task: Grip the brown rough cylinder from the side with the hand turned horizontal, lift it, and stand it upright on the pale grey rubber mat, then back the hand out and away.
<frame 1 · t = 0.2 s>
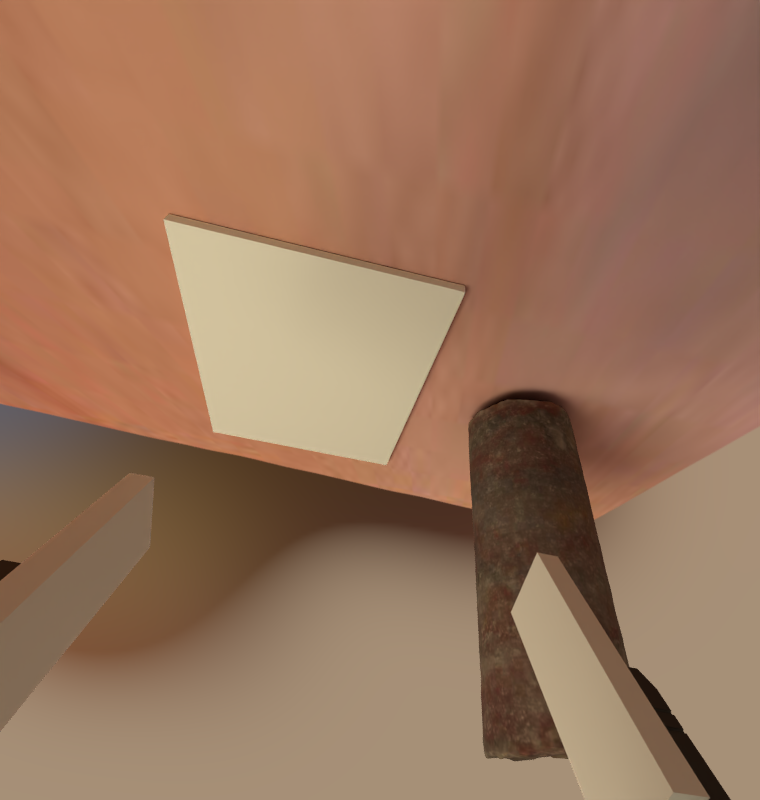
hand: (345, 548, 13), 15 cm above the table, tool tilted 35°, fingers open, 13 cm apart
brown rough cylinder: (515, 414, 30), on the table
mat: (310, 373, 29), on the table
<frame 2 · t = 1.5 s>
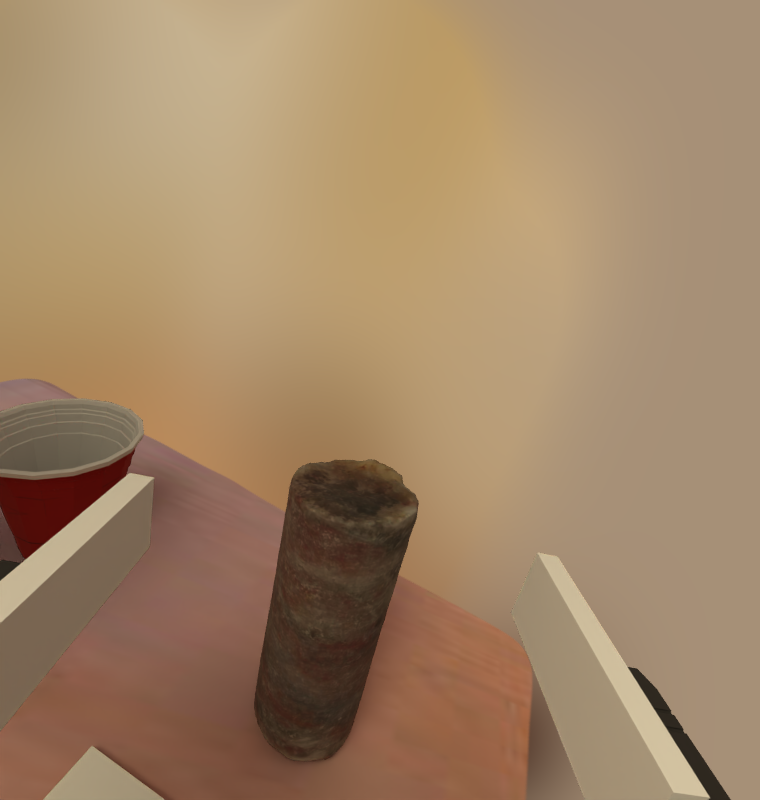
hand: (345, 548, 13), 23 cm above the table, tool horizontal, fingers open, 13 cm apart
brown rough cylinder: (302, 708, 29), on the table
plastic cup: (62, 544, 35), on the table
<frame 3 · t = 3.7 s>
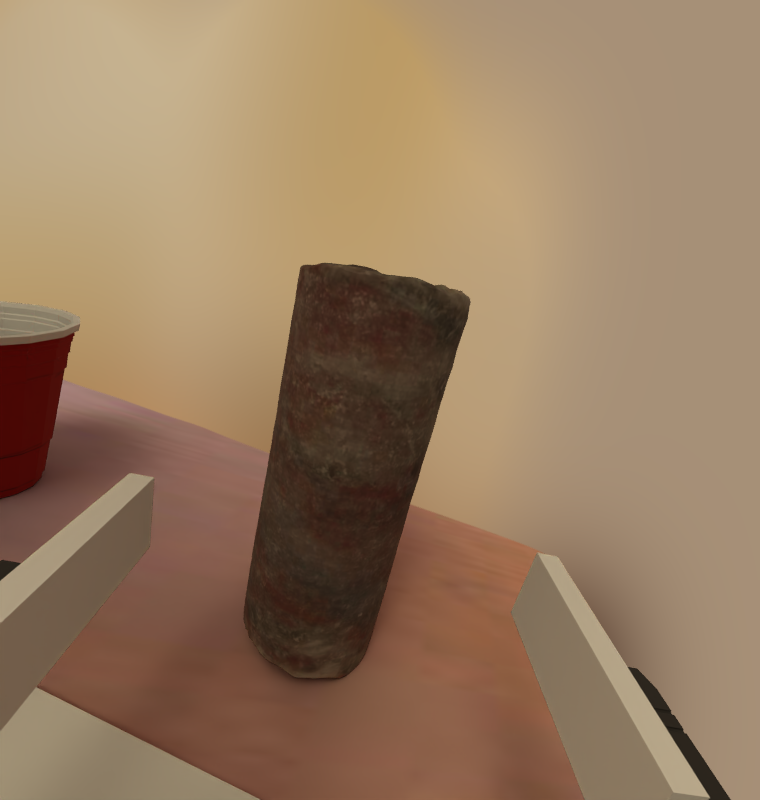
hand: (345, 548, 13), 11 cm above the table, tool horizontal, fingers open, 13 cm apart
brown rough cylinder: (304, 627, 23), on the table
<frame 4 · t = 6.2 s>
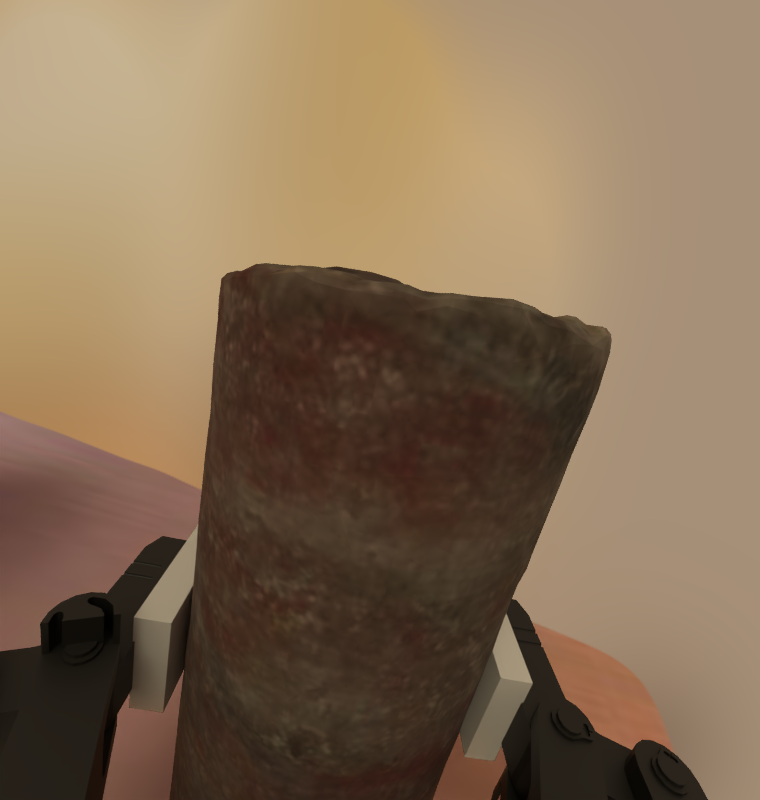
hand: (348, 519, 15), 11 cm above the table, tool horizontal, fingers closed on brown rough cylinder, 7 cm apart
when the fingers open (12 cm above the table, at t = 11.0 s): brown rough cylinder stays where it is, resting on mat.
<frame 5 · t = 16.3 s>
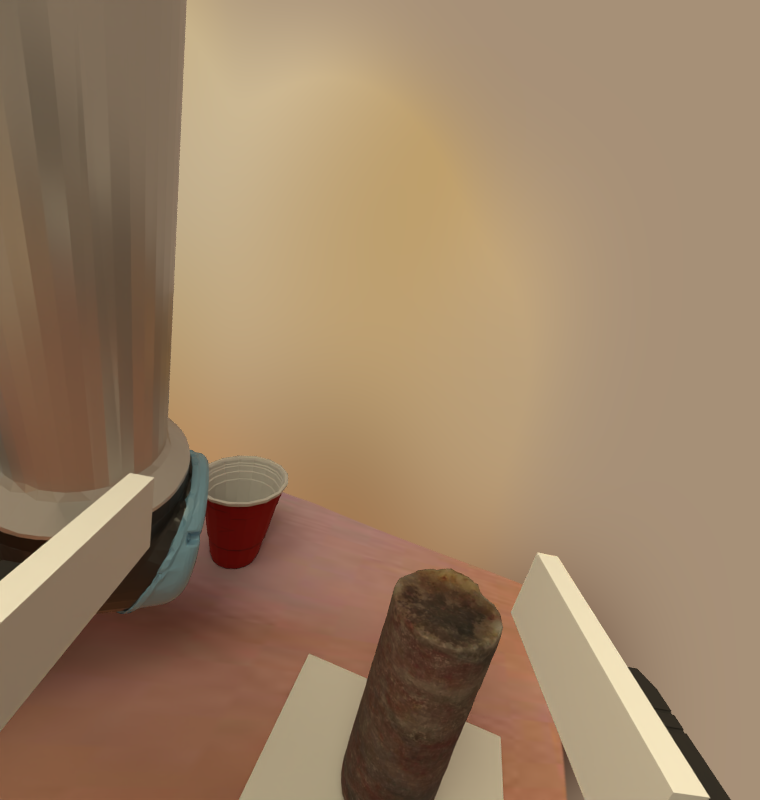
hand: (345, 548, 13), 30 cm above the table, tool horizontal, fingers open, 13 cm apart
brown rough cylinder: (380, 790, 32), resting on mat
mat: (380, 792, 32), on the table
plastic cup: (232, 554, 52), on the table
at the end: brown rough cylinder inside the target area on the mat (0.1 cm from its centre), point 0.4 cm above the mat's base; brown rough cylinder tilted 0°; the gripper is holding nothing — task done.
